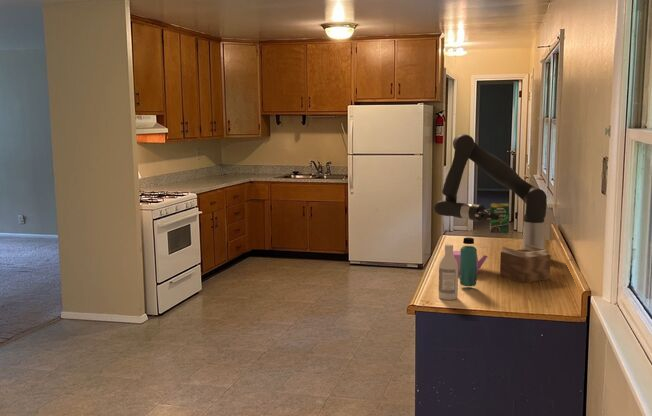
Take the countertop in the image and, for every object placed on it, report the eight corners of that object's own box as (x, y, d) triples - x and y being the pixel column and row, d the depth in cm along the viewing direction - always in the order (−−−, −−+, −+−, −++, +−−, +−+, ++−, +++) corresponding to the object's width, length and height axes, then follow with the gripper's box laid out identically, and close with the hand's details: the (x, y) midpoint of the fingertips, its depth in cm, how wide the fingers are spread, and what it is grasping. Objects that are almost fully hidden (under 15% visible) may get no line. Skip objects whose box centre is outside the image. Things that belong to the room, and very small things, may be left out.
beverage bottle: (476, 290, 245) (478, 239, 243) (459, 289, 247) (460, 239, 244) (476, 286, 252) (477, 236, 249) (459, 285, 253) (460, 236, 250)
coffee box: (489, 233, 280) (490, 203, 278) (489, 231, 282) (489, 202, 280) (508, 233, 278) (509, 203, 276) (507, 232, 281) (508, 202, 279)
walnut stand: (525, 271, 275) (526, 244, 274) (549, 278, 263) (550, 250, 261) (499, 275, 269) (500, 247, 268) (522, 282, 257) (524, 253, 255)
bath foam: (444, 294, 241) (445, 242, 238) (460, 297, 236) (462, 244, 233) (434, 298, 235) (435, 245, 233) (451, 301, 231) (452, 247, 228)
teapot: (486, 270, 278) (486, 247, 277) (487, 276, 268) (488, 252, 267) (444, 269, 281) (444, 246, 280) (444, 274, 271) (444, 251, 270)
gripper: (463, 205, 285) (494, 209, 273) (482, 202, 294) (513, 206, 282) (462, 222, 286) (493, 226, 274) (482, 218, 295) (513, 222, 283)
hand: (503, 216), depth 278 cm, fingers closed on coffee box, 7 cm apart
